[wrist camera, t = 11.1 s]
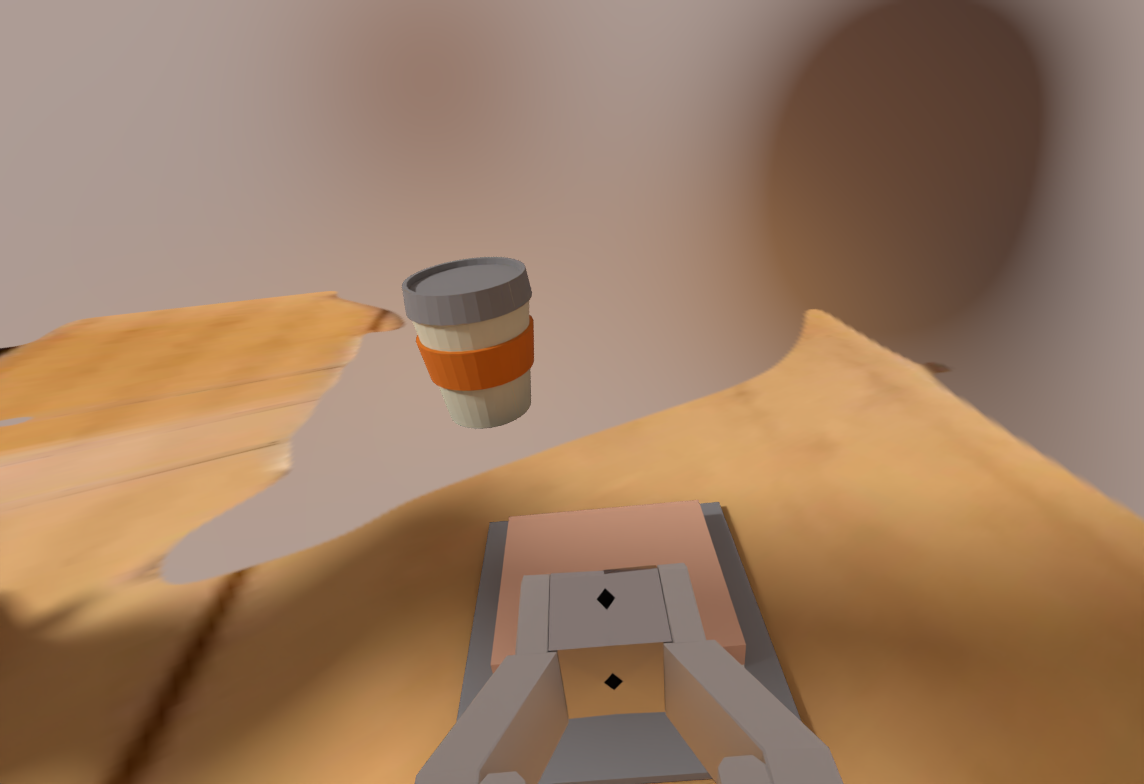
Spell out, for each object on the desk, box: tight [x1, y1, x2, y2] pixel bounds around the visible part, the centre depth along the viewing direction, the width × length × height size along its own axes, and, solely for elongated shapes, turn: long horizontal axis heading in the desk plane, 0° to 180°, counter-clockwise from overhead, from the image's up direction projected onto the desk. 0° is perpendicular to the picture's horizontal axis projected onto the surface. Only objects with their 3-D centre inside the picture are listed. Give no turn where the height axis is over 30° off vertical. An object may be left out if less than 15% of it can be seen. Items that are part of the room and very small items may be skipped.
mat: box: [457, 502, 801, 784], centre depth 35 cm, size 19×18×1 cm
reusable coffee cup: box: [402, 257, 534, 429], centre depth 57 cm, size 12×13×15 cm
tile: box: [491, 500, 746, 673], centre depth 36 cm, size 2×14×12 cm
